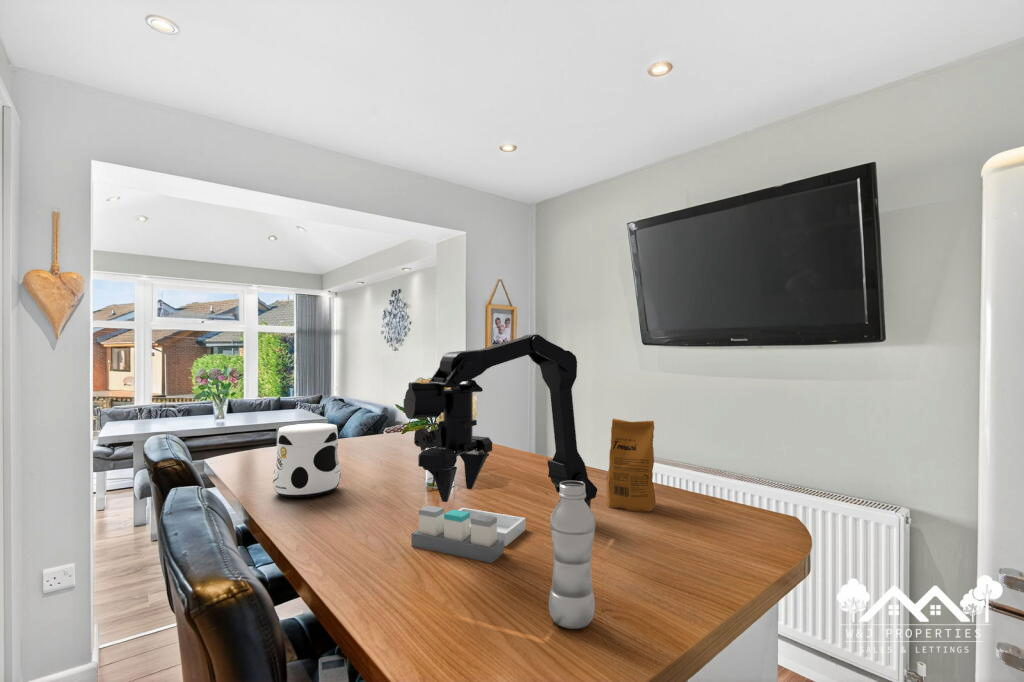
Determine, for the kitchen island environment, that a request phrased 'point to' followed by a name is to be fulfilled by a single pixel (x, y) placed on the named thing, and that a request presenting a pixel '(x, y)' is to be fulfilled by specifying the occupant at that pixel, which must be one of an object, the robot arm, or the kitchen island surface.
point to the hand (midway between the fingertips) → (457, 495)
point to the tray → (503, 524)
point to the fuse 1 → (431, 520)
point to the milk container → (307, 460)
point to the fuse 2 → (484, 530)
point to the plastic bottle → (572, 558)
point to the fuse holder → (458, 546)
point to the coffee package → (631, 466)
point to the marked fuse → (457, 525)
